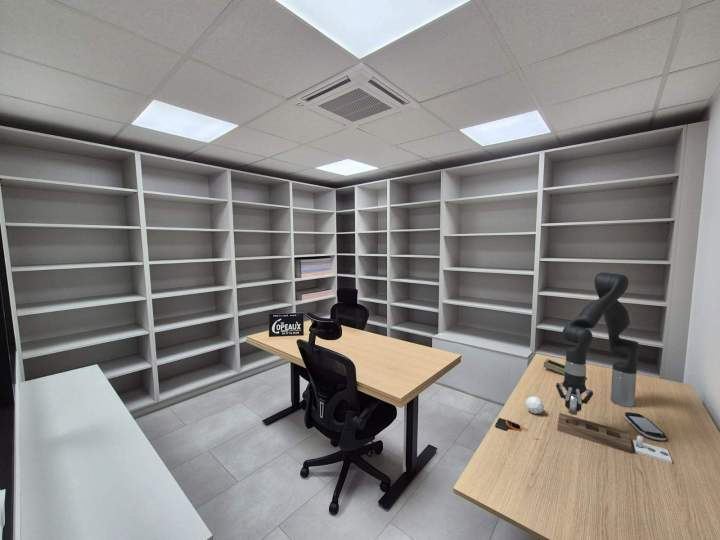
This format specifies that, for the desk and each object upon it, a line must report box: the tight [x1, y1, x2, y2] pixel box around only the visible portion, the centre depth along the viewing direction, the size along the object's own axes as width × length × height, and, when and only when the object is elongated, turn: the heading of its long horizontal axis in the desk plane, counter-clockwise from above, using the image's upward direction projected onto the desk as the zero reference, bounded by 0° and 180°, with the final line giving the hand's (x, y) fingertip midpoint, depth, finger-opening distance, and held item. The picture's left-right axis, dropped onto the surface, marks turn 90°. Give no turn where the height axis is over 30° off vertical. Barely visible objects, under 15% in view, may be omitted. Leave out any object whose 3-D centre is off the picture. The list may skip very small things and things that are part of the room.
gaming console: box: [623, 411, 668, 442], centre depth 132 cm, size 19×9×2 cm, turn 162°
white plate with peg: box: [632, 435, 673, 465], centre depth 116 cm, size 8×10×5 cm
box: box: [543, 358, 588, 381], centre depth 187 cm, size 8×22×5 cm, turn 46°
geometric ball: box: [525, 395, 545, 415], centre depth 145 cm, size 8×8×8 cm
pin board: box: [557, 412, 632, 454], centre depth 128 cm, size 11×24×3 cm, turn 53°
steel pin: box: [567, 394, 578, 416], centre depth 131 cm, size 3×3×8 cm
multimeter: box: [494, 417, 540, 441], centre depth 132 cm, size 18×12×3 cm, turn 48°
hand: (572, 409), depth 131 cm, fingers closed on steel pin, 3 cm apart
